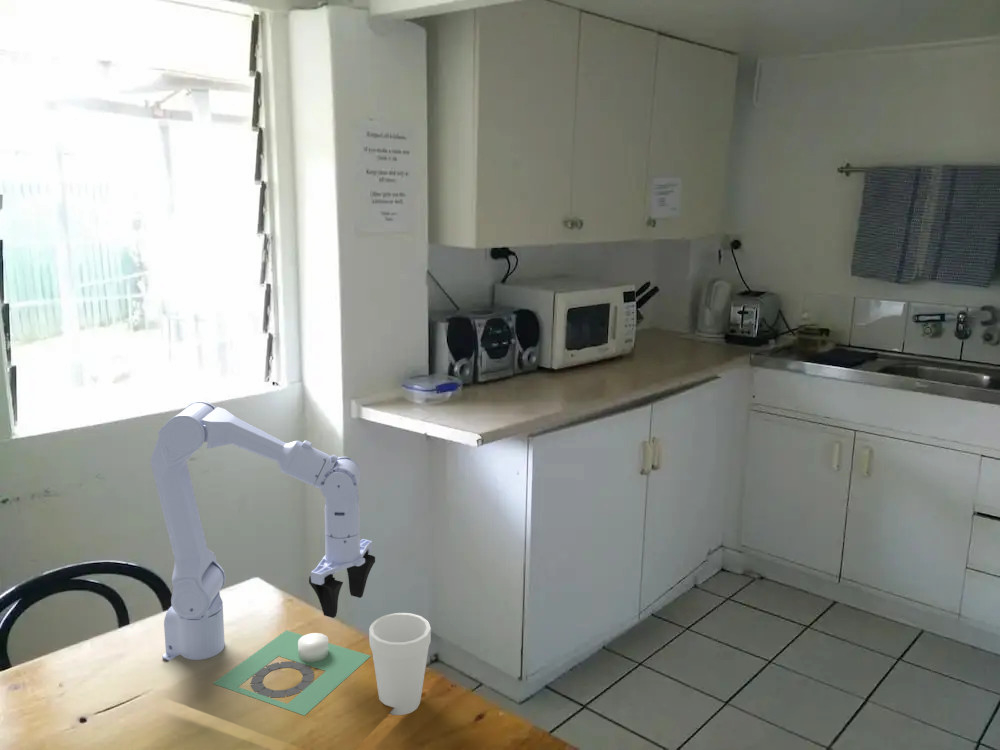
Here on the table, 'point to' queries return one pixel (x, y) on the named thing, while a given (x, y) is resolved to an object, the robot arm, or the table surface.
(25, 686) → the table surface
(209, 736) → the table surface
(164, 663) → the table surface
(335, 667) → the mat
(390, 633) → the foam cup
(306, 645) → the white smooth pebble
